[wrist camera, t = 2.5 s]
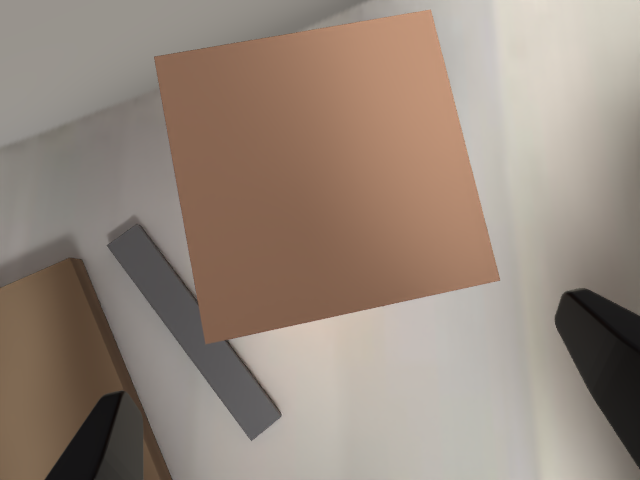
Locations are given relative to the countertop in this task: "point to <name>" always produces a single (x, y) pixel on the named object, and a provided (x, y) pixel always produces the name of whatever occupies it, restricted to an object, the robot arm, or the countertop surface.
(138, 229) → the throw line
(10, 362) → the pad
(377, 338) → the countertop surface
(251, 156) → the terracotta block
